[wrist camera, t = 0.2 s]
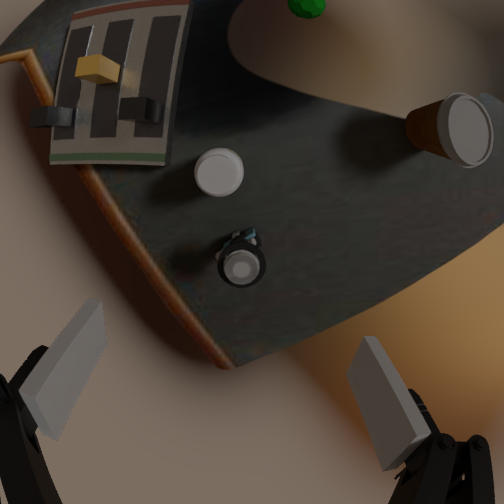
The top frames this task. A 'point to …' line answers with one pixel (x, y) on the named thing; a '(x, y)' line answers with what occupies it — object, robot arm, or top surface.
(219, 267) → the push button
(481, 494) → the robot arm
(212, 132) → the top surface
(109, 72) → the block
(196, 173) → the supplement bottle
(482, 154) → the disposable coffee cup
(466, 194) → the top surface
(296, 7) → the polyhedron
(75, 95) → the panel
